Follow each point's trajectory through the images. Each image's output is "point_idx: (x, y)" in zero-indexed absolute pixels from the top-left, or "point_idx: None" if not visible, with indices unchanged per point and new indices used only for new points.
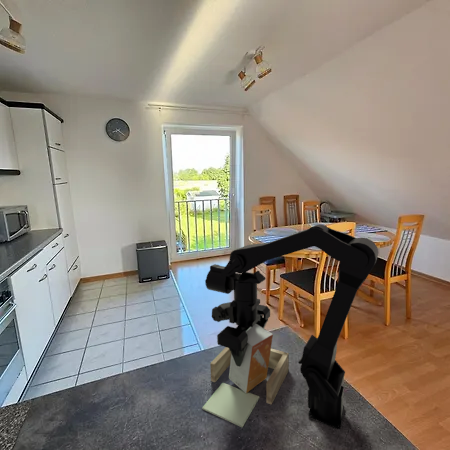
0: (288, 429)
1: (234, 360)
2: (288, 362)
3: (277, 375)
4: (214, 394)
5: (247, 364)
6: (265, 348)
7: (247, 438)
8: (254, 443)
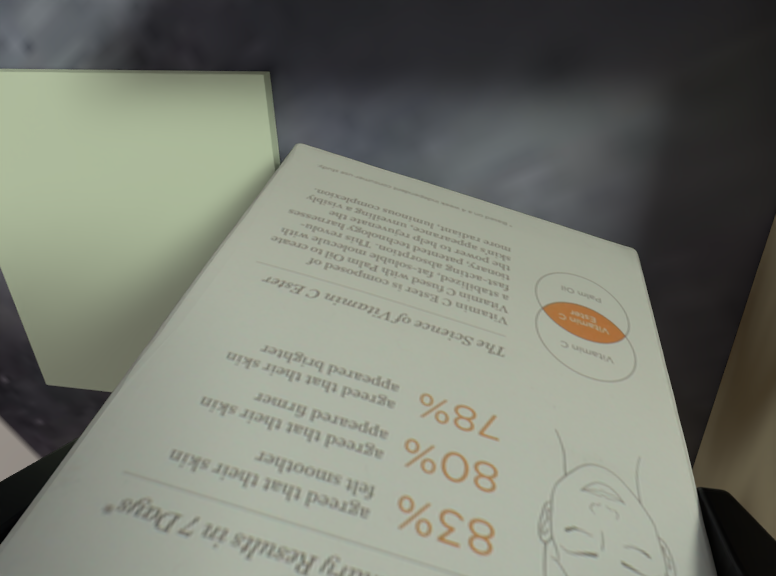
0: None
1: (29, 471)
2: None
3: None
4: (93, 85)
5: None
6: None
7: (30, 414)
8: (37, 447)
